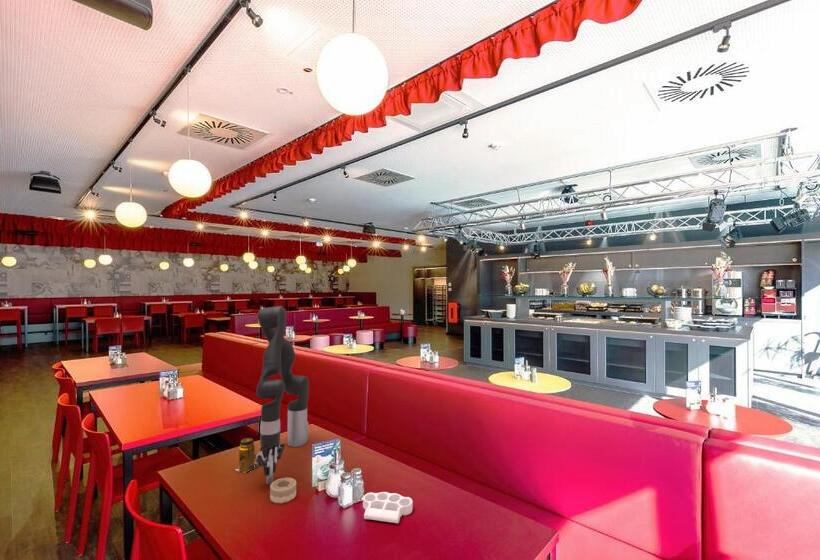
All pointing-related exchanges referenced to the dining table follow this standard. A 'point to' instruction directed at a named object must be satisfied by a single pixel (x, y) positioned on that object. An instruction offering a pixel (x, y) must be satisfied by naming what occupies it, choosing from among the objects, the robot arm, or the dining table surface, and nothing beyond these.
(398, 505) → the white compartment tray
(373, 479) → the dining table surface
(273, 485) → the bead
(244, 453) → the condiment
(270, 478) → the white rod
